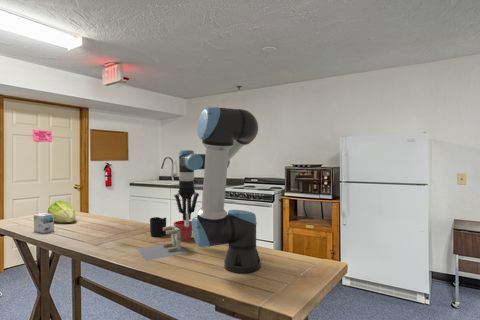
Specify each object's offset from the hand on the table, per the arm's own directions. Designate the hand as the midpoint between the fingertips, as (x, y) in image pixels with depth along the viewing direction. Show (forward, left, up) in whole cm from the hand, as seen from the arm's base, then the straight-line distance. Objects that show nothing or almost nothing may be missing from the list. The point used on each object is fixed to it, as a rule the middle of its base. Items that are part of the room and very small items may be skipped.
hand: (186, 226), depth 151 cm
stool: (0, +8, -10) cm, 13 cm away
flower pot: (+14, -3, -11) cm, 18 cm away
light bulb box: (+77, +67, -11) cm, 102 cm away
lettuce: (+104, +57, -11) cm, 119 cm away
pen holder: (+31, +7, -11) cm, 33 cm away
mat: (-1, +13, -11) cm, 17 cm away
